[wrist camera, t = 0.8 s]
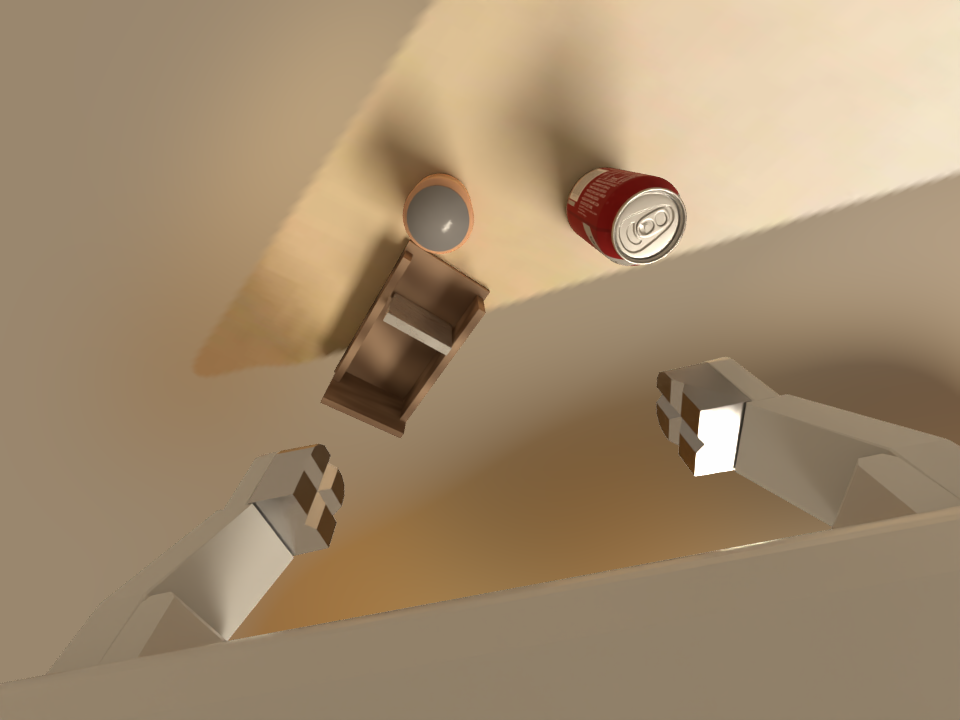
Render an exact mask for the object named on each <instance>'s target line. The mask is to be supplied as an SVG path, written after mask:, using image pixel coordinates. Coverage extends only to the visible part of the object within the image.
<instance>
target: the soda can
mask: <svg viewBox="0 0 960 720" xmlns="http://www.w3.org/2000/svg"><path fill="white" fill-rule="evenodd" d="M566 212H567V218H568V222H569V224H570V226H571V228H572V229H573V230H574V231H575V232H576V233H577V234H578V235H579V236H580V237H582V238H583V239H584V240H585V241H587V242H588V243H589V244H591V245H592V246H593V247H594V248H596V249H597V250H598V251H599V252H601V253H602V254H603V255H605V256H606V257H607V258H608V259H610V260H611V261H613V262H615V263H617V264H620V265H625V266H637V265H644V264H650V263H653V262H656V261H658V260H660V259H662V258H664V257H665V256H666V255H668V254H669V253H670V252H671V251H672V250H673V249H674V248H675V247H676V245H677V244H678V243H679V241H680V239H681V238H682V235H683V233H684V230H685V227H686V220H687V215H686V209H685V206H684V203H683V201H682V200H681V198H680V195H679V193H678V191H677V190H676V188H675V187H674V186H673V185H672V184H671V183H670V182H668V181H667V180H665V179H663V178H660V177H656V176H651V175H646V174H641V173H635V172H630V171H625V170H620V169H614V168H608V167H604V168H598V169H595V170H592V171H590V172H588V173H586V174H585V175H584V176H582V177H581V178H580V179H579V180H578V181H577V182H576V184H575V185H574V187H573V188H572V190H571V192H570V194H569V197H568V201H567V208H566Z"/></svg>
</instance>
